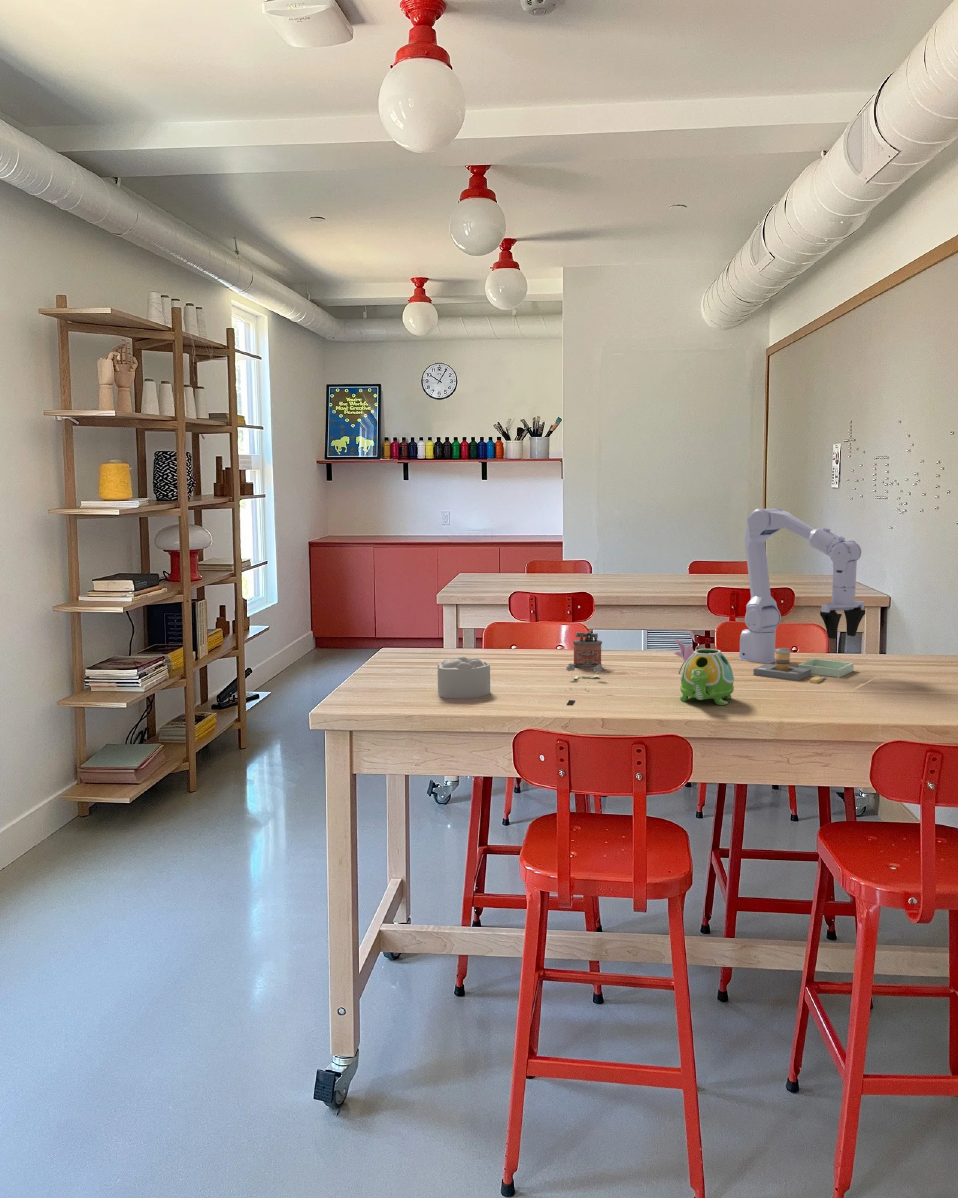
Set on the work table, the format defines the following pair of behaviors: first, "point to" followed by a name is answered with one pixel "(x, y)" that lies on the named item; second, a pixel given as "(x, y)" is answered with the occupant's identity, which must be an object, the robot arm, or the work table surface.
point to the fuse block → (782, 672)
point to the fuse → (782, 659)
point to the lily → (684, 652)
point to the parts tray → (827, 667)
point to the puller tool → (817, 679)
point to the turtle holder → (707, 677)
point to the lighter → (587, 650)
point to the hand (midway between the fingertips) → (841, 637)
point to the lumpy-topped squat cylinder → (463, 678)
